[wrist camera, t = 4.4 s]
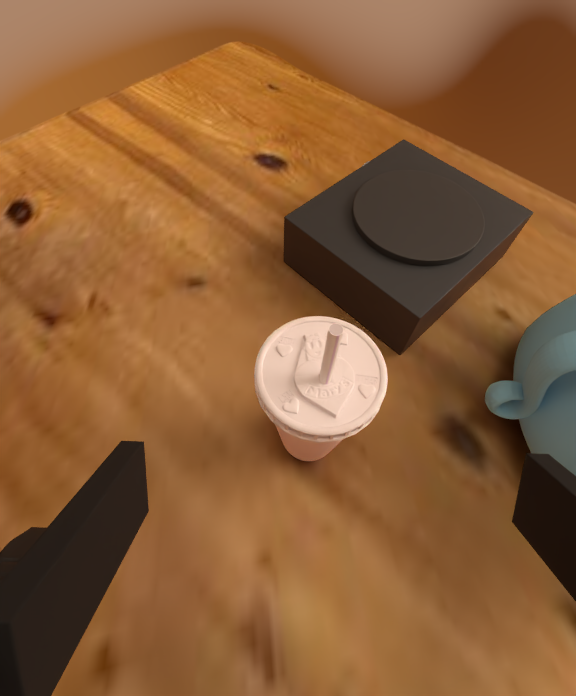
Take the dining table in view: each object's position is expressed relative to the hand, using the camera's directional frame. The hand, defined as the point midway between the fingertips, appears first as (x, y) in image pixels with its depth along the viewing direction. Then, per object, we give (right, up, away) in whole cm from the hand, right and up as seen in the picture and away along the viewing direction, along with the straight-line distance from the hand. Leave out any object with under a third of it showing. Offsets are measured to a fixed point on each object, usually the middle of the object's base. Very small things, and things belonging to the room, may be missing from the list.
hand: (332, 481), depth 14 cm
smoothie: (0, -1, +13) cm, 13 cm away
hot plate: (+8, +13, +22) cm, 26 cm away
